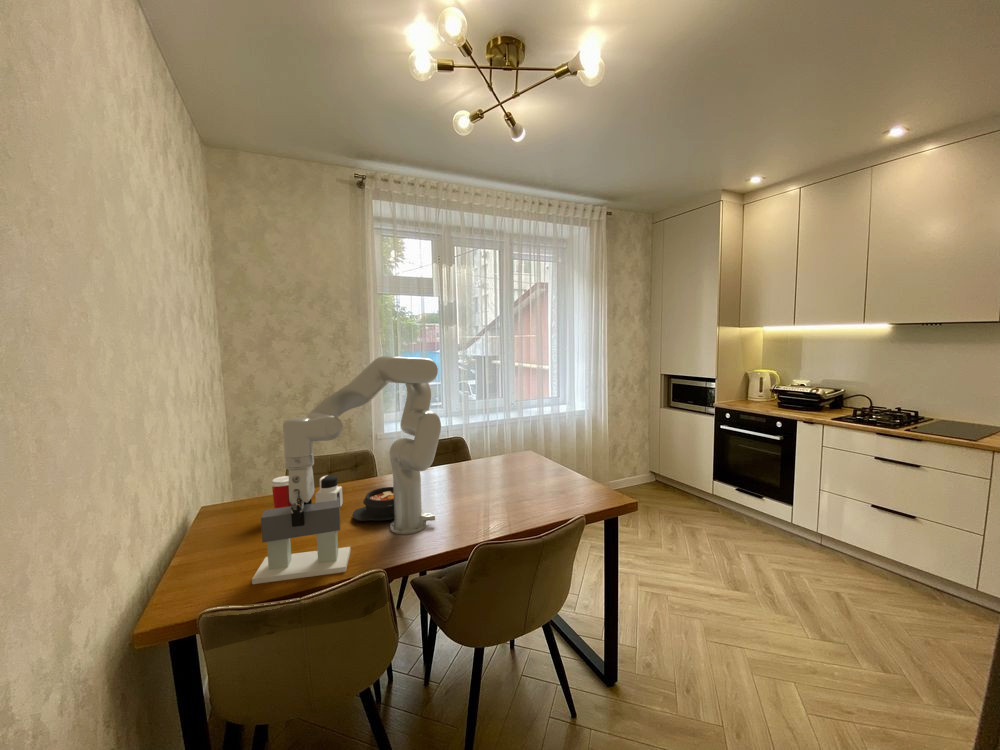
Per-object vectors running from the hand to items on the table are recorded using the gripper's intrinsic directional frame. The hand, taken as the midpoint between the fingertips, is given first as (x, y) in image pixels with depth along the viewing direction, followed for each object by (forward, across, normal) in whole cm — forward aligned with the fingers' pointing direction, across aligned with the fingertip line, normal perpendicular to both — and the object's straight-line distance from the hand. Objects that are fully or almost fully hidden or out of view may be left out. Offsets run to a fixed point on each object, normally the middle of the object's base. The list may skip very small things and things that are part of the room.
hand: (302, 518), depth 119 cm
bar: (+4, 0, 0) cm, 4 cm away
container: (+15, +44, 0) cm, 46 cm away
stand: (+14, 0, 0) cm, 14 cm away
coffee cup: (+15, +39, +15) cm, 44 cm away
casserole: (+15, +32, -22) cm, 42 cm away
